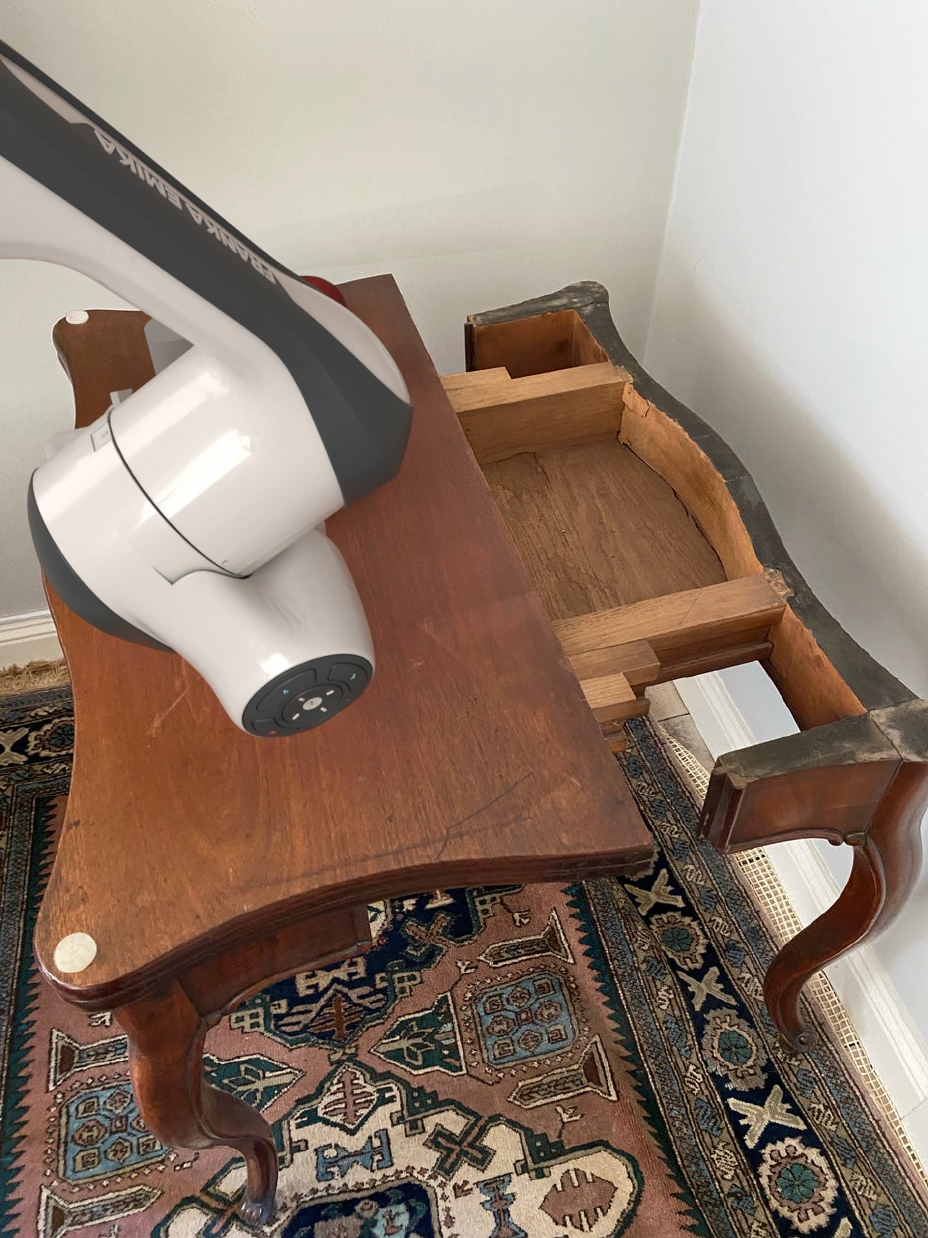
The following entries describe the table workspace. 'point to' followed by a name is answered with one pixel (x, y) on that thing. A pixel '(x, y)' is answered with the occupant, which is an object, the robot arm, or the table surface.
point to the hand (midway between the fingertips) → (192, 384)
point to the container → (164, 345)
